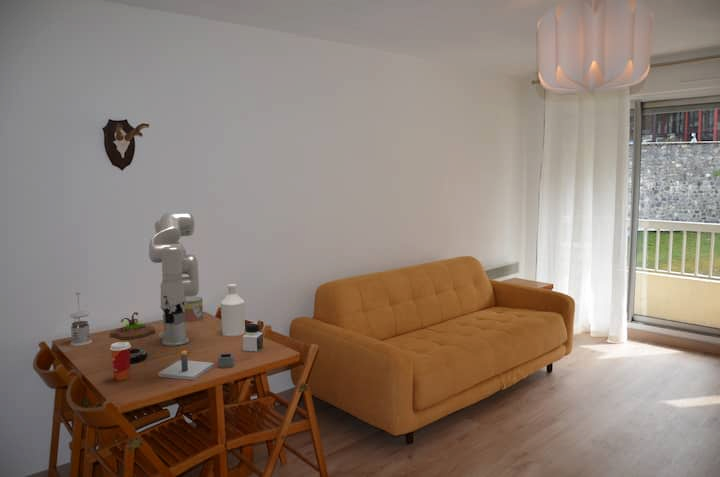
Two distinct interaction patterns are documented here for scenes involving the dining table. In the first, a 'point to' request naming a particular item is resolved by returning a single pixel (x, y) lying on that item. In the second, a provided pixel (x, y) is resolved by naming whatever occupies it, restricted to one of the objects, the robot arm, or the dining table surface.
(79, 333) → the french press
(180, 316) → the link
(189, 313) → the canned food
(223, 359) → the link
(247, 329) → the medicine bottle
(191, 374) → the keeper
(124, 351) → the paper cup
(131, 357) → the black ashtray
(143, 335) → the plant
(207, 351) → the dining table surface
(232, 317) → the bottle
